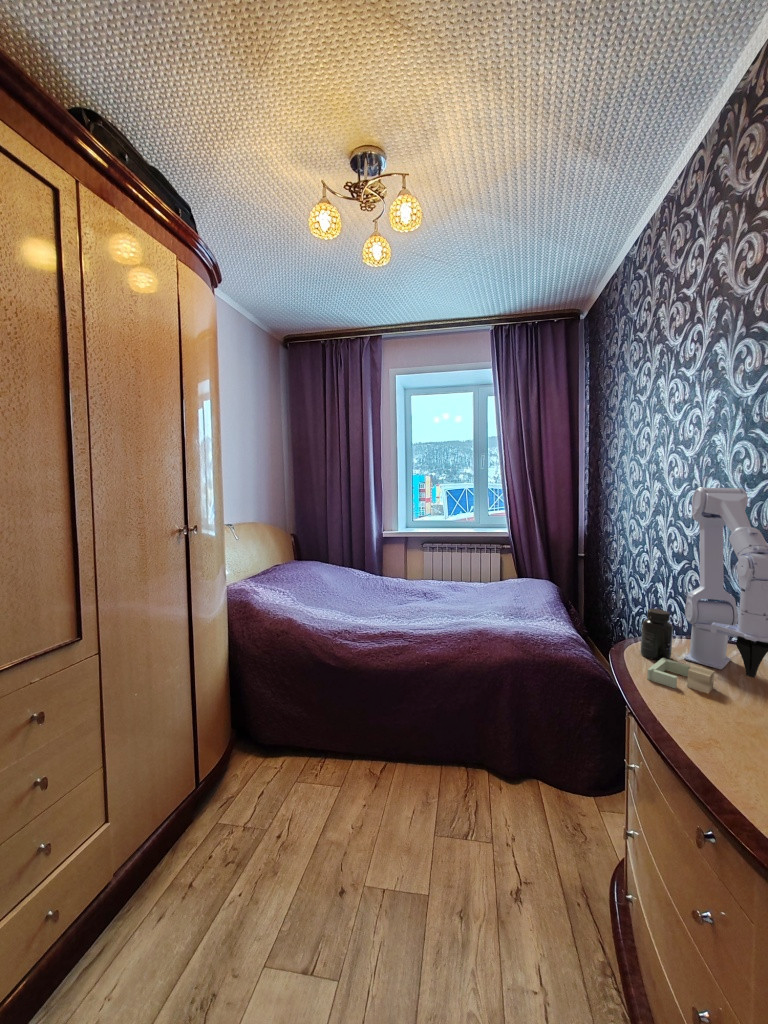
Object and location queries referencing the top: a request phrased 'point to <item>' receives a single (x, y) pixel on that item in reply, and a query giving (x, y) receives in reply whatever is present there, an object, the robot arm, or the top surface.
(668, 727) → the top surface
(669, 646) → the supplement bottle
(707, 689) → the birch block
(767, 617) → the robot arm
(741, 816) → the top surface
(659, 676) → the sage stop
